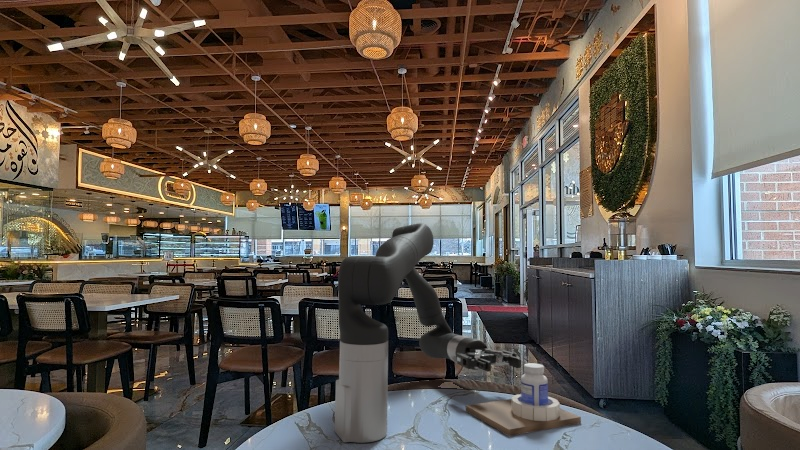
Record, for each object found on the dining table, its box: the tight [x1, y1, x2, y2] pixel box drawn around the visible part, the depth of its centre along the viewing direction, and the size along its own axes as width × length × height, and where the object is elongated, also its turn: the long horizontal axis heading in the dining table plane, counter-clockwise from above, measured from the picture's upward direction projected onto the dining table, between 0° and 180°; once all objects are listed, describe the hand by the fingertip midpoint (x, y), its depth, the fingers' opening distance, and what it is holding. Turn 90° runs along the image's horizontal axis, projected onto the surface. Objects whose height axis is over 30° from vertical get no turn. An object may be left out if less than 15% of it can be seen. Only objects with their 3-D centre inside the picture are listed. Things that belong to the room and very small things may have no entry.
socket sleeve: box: [510, 393, 561, 421], centre depth 93 cm, size 9×9×2 cm
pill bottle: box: [520, 362, 549, 406], centre depth 94 cm, size 5×5×10 cm
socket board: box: [465, 398, 582, 437], centre depth 94 cm, size 18×15×1 cm
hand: (505, 365), depth 103 cm, fingers open, 8 cm apart
